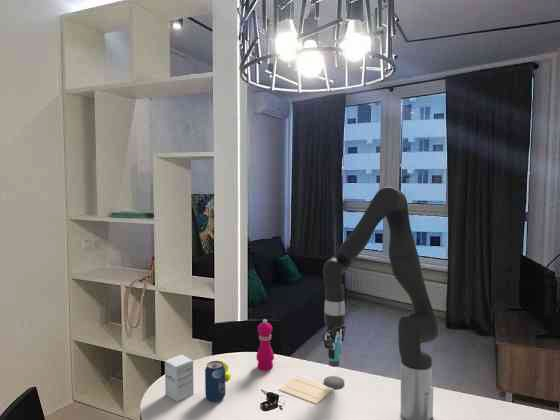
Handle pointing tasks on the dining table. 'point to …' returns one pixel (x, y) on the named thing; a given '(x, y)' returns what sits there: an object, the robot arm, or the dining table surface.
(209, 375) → the soda can
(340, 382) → the coaster
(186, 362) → the supplement box
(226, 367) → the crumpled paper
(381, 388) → the dining table surface
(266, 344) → the pepper mill
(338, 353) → the teal cylinder
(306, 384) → the wooden board
